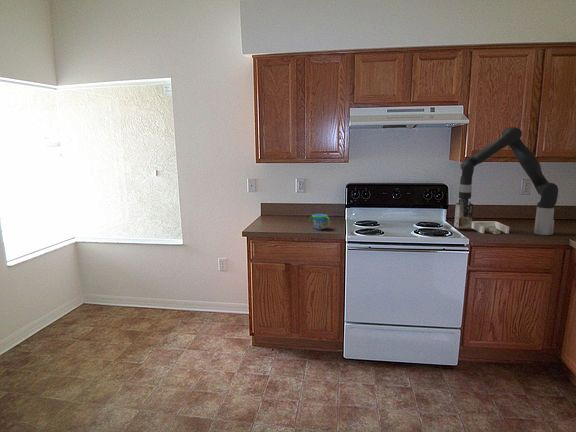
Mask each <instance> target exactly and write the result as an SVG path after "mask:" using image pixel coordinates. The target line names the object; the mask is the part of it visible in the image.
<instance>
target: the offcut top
mask: <svg viewBox="0 0 576 432" xmlns="http://www.w3.org/2000/svg"><path fill="white" fill-rule="evenodd" d="M497 230H498V229H497V228H496V226H489V231H497Z"/></svg>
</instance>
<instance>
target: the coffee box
mask: <svg viewBox="0 0 576 432" xmlns="http://www.w3.org/2000/svg"><path fill="white" fill-rule="evenodd" d="M464 206H465V207H466V205H465V204H462V203H459V202H456V203H455V209H454V211H455V212H454V223H453V225H454V227H456V228H458V229H473V228H472V221H473V210H474V208H473V207H474V204H472V203H471V205H470V211H468V217H464ZM465 209H466V208H465ZM468 209H469V208H468Z"/></svg>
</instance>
